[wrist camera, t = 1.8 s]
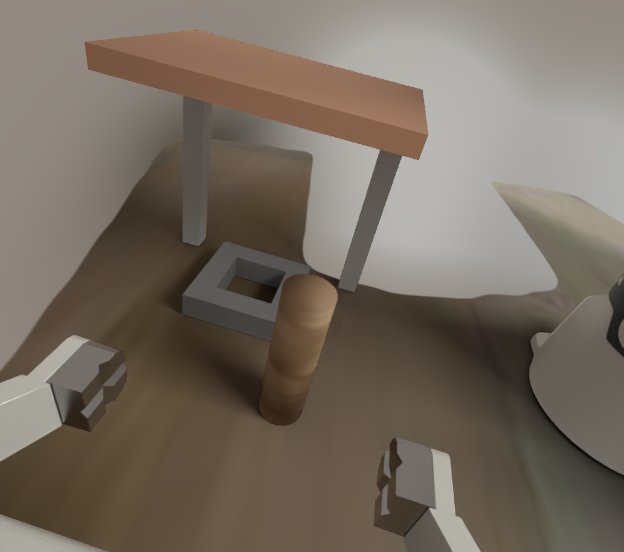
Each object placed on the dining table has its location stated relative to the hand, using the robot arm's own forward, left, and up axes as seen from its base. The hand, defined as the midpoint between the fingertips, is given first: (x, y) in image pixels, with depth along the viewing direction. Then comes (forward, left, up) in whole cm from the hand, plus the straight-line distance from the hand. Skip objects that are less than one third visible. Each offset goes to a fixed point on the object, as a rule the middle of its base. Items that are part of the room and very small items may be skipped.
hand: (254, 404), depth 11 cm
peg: (-6, -11, -17) cm, 21 cm away
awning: (-6, -24, -17) cm, 30 cm away
